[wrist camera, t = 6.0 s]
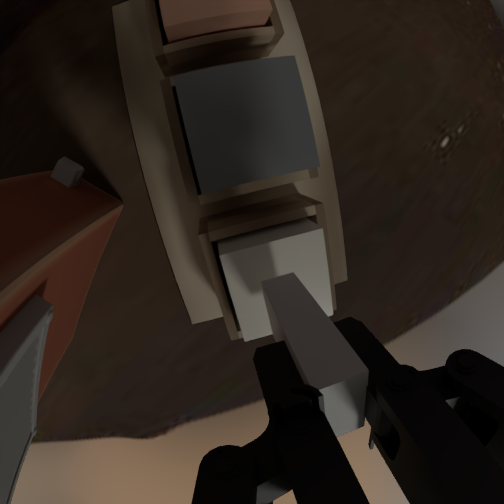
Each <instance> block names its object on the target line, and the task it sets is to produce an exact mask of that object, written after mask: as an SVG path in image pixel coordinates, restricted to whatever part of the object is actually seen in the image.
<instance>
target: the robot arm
mask: <svg viewBox="0 0 504 504" xmlns="http://www.w3.org/2000/svg"><path fill="white" fill-rule="evenodd" d="M260 283H261V287H262V291H263V296H264V300H265V304H266V308H267V313H268V317H269V321H270V325H271V330H272V333H273V335H274V338H275V340H276V343H273V344H269V345H266V346H262V347H259V348H256V351H255V355H254V358H253V361H254V364H255V368H256V371H257V375H258V378H259V381H260V385H261V388H262V392H263V395H264V399H265V402H266V405H267V409H268V415H269V424H268V426H267V428H266V430H265V431H264V432H263V433H262V435H261V436H259V437H258V438H257V439H255V440H254V441H252V442H250V443H248V444H246V445H245V446H243V447H239V446H233V445H225V446H219V447H217V448H215V449H213V450H211V451H209V452H208V453H207V454H206V455H205V456H204V457H203V459H202V461H201V463H200V465H199V470H198V475H197V480H196V484H195V489H194V494H193V499H192V504H273V501H274V500H275V499H277V498H279V497H280V496H282V495H284V494H286V493H287V492H289V491H290V490H292V489H293V492H294V495H295V498H296V501H297V504H370V503H369V502H368V499H367V497H366V495H365V494H364V491H363V490H362V487H361V485H360V483H359V482H358V479H357V477H356V476H355V473H354V471H353V469H352V468H351V465H350V464H349V461H348V459H347V458H346V455H345V453H344V451H343V449H342V447H341V445H340V443H339V441H338V440H337V437H339V436H341V435H344V434H346V433H349V432H351V431H354V430H356V429H358V428H360V427H363V426H364V422H365V418H366V419H367V421H368V423H369V424H370V425H371V433H370V439H369V448H370V449H373V446H374V443H375V445H376V447H377V448H378V450H379V452H380V453H381V455H382V457H383V459H384V460H385V462H386V464H387V465H388V467H389V469H390V470H391V472H392V474H393V476H394V477H395V479H396V481H397V482H398V484H399V486H400V487H401V489H402V491H403V493H404V495H405V496H406V498H407V500H408V501H409V503H410V504H504V367H503V366H501V365H500V364H498V363H496V362H494V361H492V360H490V359H489V358H487V357H485V356H483V355H481V354H480V353H478V352H475V351H473V350H470V349H461V350H458V351H455V352H453V353H452V354H451V355H449V357H448V359H447V360H446V364H445V366H442V367H438V368H434V369H430V370H425V371H418V370H416V369H415V368H414V367H412V366H408V365H400V364H399V363H398V362H397V361H396V360H395V359H394V357H393V356H392V355H391V354H390V353H389V352H388V351H387V350H386V349H385V347H384V346H383V345H382V344H381V343H380V342H379V341H378V340H377V339H376V338H375V336H374V335H373V334H372V333H371V332H369V330H368V329H367V327H366V326H365V325H364V324H363V323H362V322H360V321H358V320H356V319H354V318H352V317H348V318H345V319H342V320H340V321H337V322H334V323H333V322H332V321H331V320H330V318H329V317H328V316H327V315H326V313H325V312H324V311H323V309H322V308H321V307H320V305H319V304H318V303H317V302H316V300H315V299H314V298H313V296H312V295H311V294H310V293H309V291H308V290H307V289H306V287H305V286H304V285H303V284H302V282H301V281H300V280H299V279H298V277H297V276H296V275H295V273H294V272H292V273H289V274H285V275H282V276H278V277H275V278H271V279H268V280H264V281H261V282H260Z"/></svg>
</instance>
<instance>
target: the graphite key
mask: <svg viewBox="0 0 504 504" xmlns="http://www.w3.org/2000/svg"><path fill="white" fill-rule="evenodd" d="M174 81H175V86H176V90H177V95H178V99H179V104H180V108H181V112H182V117H183V121H184V125H185V129H186V133H187V138H188V142H189V146H190V150H191V154H192V158H193V162H194V166H195V170H196V174H197V178H198V182H199V185H200V189H201V193H202V194H205V193H208V192H212V191H216V190H220V189H224V188H228V187H232V186H236V185H240V184H244V183H248V182H252V181H256V180H260V179H265V178H269V177H274V176H278V175H283V174H287V173H292V172H297V171H302V170H306V169H311V168H316V167H320V162H319V157H318V152H317V147H316V142H315V137H314V132H313V128H312V123H311V119H310V114H309V110H308V106H307V101H306V97H305V93H304V89H303V85H302V81H301V77H300V73H299V70H298V66H297V62H296V59H295V55H294V56H282V57H273V58H264V59H257V60H250V61H243V62H237V63H231V64H226V65H221V66H216V67H211V68H206V69H202V70H197V71H193V72H189V73H185V74H181V75H177V76H174Z"/></svg>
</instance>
